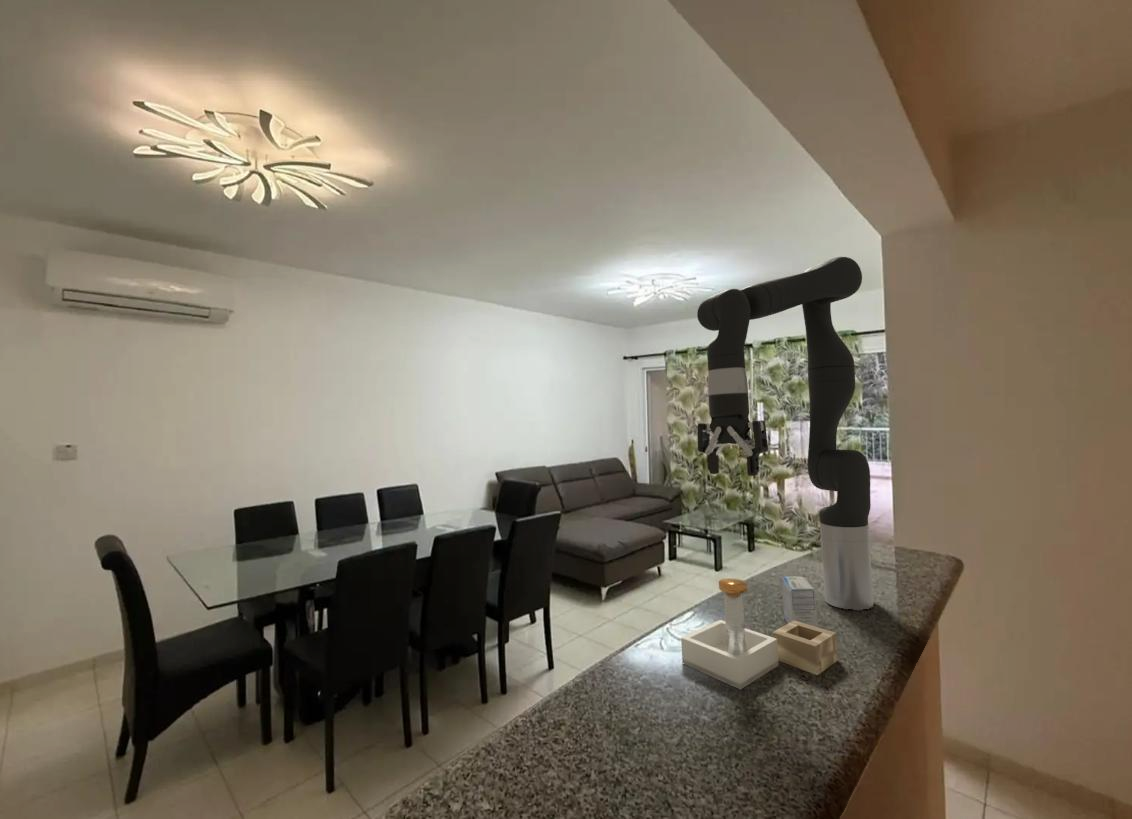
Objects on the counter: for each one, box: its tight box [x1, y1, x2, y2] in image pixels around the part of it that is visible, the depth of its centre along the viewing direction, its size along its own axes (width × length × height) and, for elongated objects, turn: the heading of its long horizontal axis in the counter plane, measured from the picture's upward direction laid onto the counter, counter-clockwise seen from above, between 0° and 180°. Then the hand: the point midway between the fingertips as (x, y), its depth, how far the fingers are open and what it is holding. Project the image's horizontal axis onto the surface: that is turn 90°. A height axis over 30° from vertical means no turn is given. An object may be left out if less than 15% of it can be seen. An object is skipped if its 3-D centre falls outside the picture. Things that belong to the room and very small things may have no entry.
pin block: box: [772, 621, 839, 676], centre depth 81 cm, size 7×7×4 cm
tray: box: [680, 619, 780, 691], centre depth 81 cm, size 11×11×4 cm
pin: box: [718, 578, 748, 656], centre depth 80 cm, size 4×4×13 cm
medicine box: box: [781, 575, 819, 628], centre depth 94 cm, size 8×4×9 cm, turn 168°
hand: (732, 474), depth 95 cm, fingers open, 8 cm apart
